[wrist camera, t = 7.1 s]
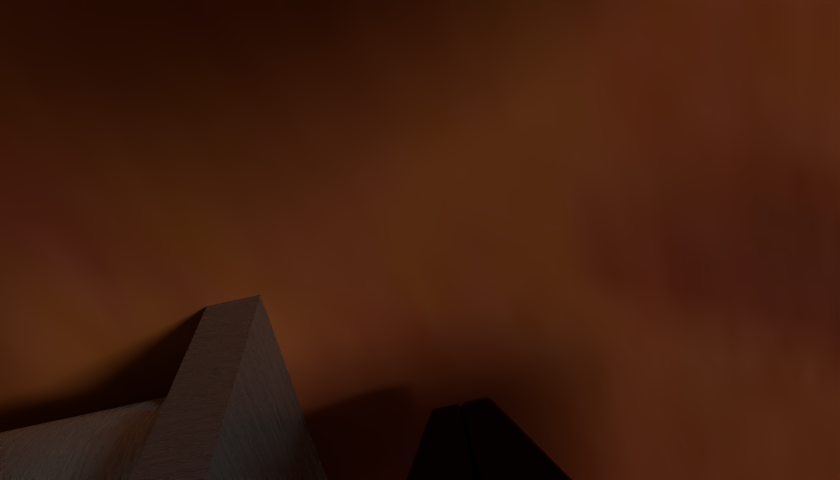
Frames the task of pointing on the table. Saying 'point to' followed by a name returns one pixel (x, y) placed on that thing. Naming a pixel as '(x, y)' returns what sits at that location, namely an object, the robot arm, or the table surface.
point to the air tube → (187, 418)
